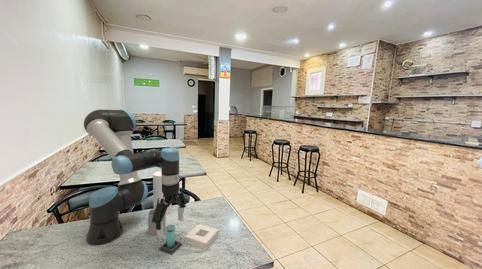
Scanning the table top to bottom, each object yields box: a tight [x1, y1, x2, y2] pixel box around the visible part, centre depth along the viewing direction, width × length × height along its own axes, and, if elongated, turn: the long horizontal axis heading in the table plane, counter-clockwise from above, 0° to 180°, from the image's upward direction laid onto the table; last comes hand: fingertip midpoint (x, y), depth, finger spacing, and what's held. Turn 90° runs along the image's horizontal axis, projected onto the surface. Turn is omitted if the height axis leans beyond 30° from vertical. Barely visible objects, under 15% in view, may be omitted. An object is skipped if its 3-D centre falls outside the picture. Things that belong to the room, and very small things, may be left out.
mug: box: [147, 208, 167, 236], centre depth 107 cm, size 12×8×11 cm
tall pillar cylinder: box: [152, 170, 173, 216], centre depth 126 cm, size 11×11×25 cm
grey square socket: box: [157, 240, 184, 256], centre depth 94 cm, size 8×8×2 cm
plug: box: [166, 224, 176, 249], centre depth 93 cm, size 4×4×10 cm
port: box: [184, 223, 220, 251], centre depth 100 cm, size 12×12×4 cm
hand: (171, 227), depth 92 cm, fingers open, 13 cm apart
